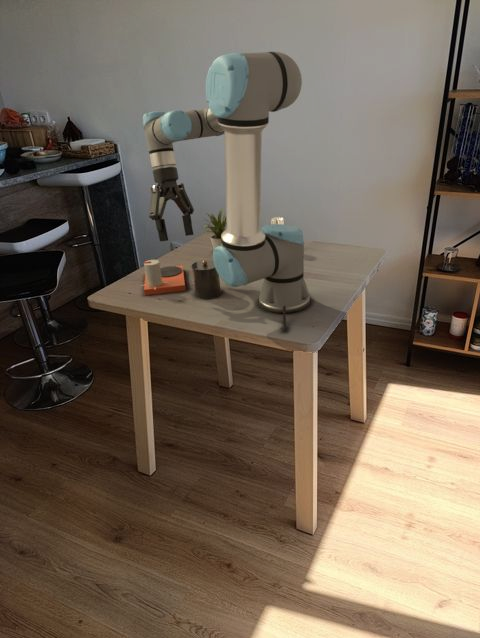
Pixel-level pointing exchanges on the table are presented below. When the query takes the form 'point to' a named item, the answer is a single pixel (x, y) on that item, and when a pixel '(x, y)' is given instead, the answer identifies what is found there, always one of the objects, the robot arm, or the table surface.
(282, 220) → the wineglass
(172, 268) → the burner
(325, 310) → the table surface
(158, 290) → the hot plate
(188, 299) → the table surface
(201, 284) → the enamel pot
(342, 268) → the table surface
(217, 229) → the house plant
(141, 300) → the table surface
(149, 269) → the hob knob
